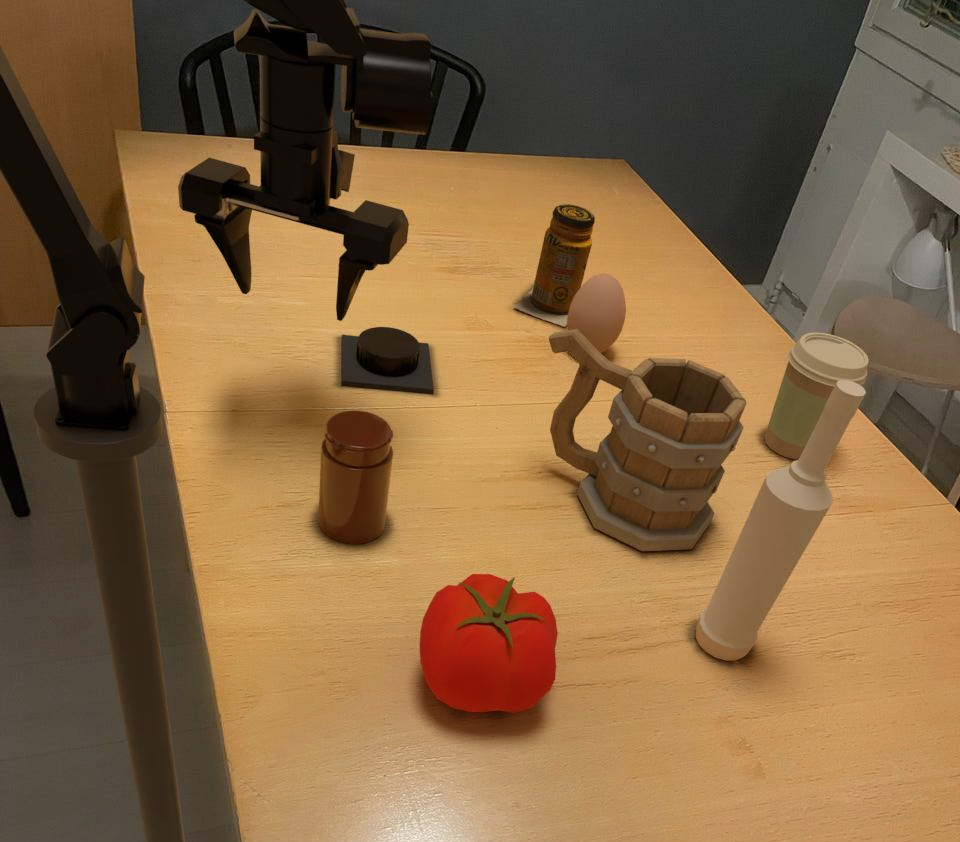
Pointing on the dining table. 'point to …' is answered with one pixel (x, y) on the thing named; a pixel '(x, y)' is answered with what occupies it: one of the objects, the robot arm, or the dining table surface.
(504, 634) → the tomato
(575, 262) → the condiment
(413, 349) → the jar lid
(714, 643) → the bottle
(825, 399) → the coffee cup
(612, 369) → the tankard
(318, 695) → the dining table surface
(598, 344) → the egg
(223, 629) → the dining table surface
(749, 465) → the dining table surface
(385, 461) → the jam jar
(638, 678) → the dining table surface
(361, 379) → the rubber mat
